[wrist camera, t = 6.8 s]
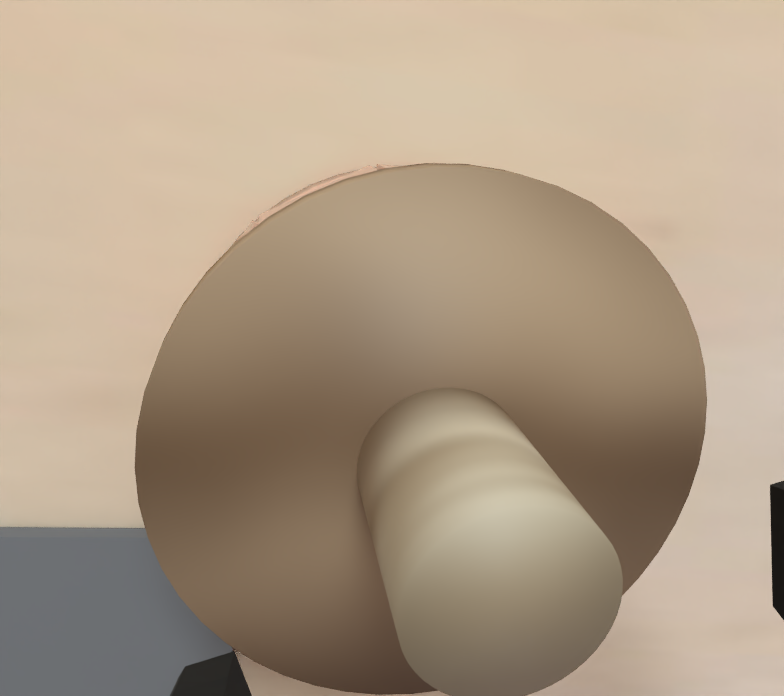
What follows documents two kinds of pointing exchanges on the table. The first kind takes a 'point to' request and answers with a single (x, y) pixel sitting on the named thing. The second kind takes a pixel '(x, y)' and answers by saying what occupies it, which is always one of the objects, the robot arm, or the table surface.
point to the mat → (92, 615)
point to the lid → (422, 433)
